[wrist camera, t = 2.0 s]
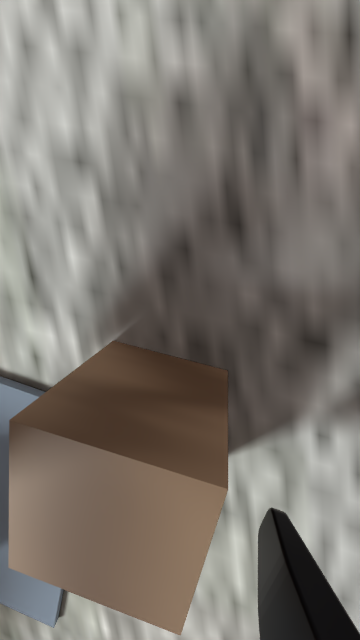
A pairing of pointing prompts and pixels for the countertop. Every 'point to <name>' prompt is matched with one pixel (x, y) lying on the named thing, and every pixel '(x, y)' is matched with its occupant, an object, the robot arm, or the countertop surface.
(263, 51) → the countertop surface
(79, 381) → the brown block
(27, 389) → the building mat
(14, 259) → the countertop surface
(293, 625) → the robot arm
